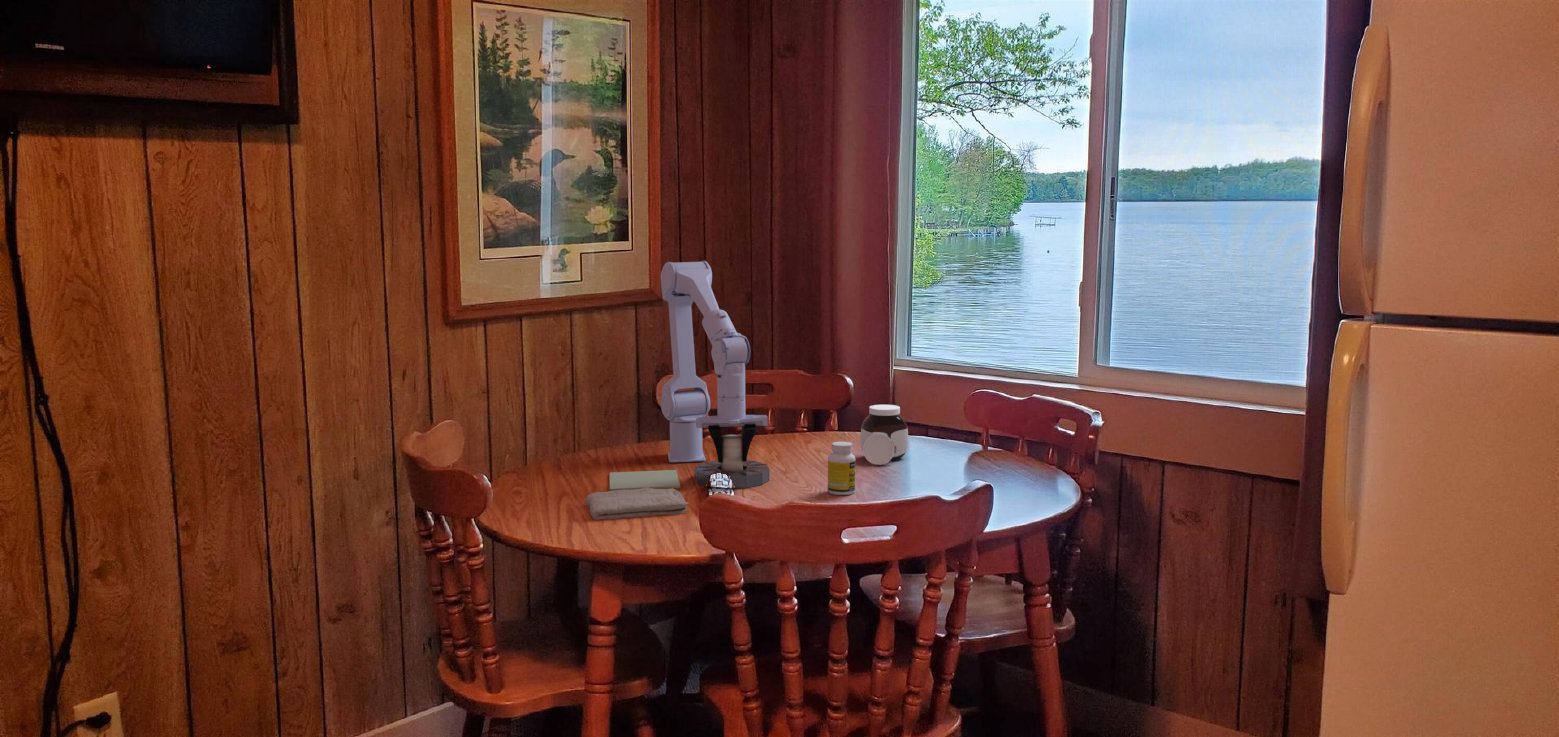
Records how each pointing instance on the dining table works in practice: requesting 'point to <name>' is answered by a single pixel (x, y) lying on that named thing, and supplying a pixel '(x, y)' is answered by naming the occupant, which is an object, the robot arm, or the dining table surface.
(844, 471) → the supplement bottle
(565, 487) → the dining table surface
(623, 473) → the pad
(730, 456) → the peg
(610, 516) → the washcloth
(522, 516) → the dining table surface
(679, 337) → the robot arm
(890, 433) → the spread jar
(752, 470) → the iron collar
